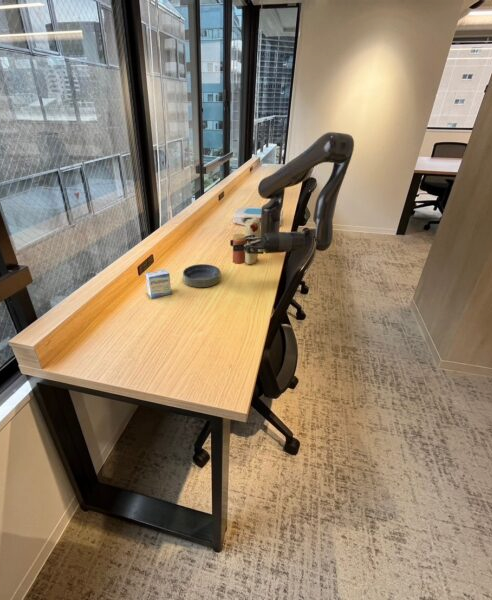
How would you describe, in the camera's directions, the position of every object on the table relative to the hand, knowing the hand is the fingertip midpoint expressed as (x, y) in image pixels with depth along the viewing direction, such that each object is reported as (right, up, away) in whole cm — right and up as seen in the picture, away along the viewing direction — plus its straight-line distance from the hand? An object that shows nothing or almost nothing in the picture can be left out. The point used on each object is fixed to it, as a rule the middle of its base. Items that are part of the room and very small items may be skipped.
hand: (232, 245), depth 119 cm
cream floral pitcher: (+9, -2, +30) cm, 32 cm away
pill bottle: (+3, -5, +4) cm, 7 cm away
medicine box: (-27, -18, +4) cm, 33 cm away
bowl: (-12, -11, +15) cm, 22 cm away
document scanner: (+18, +29, +83) cm, 90 cm away
